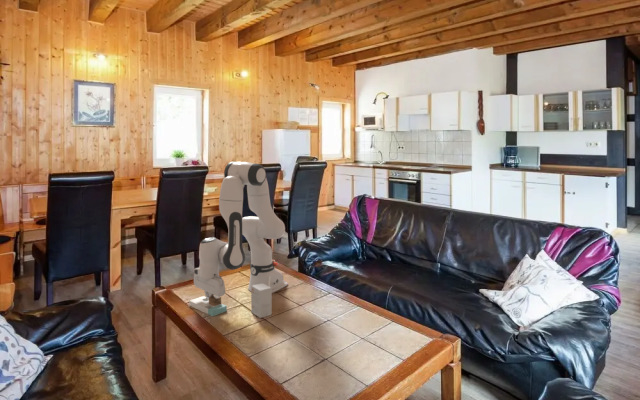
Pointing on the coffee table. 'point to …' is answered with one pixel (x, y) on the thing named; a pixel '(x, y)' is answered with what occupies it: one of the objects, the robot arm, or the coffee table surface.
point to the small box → (261, 300)
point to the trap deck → (207, 306)
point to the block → (214, 300)
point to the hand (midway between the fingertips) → (209, 300)
